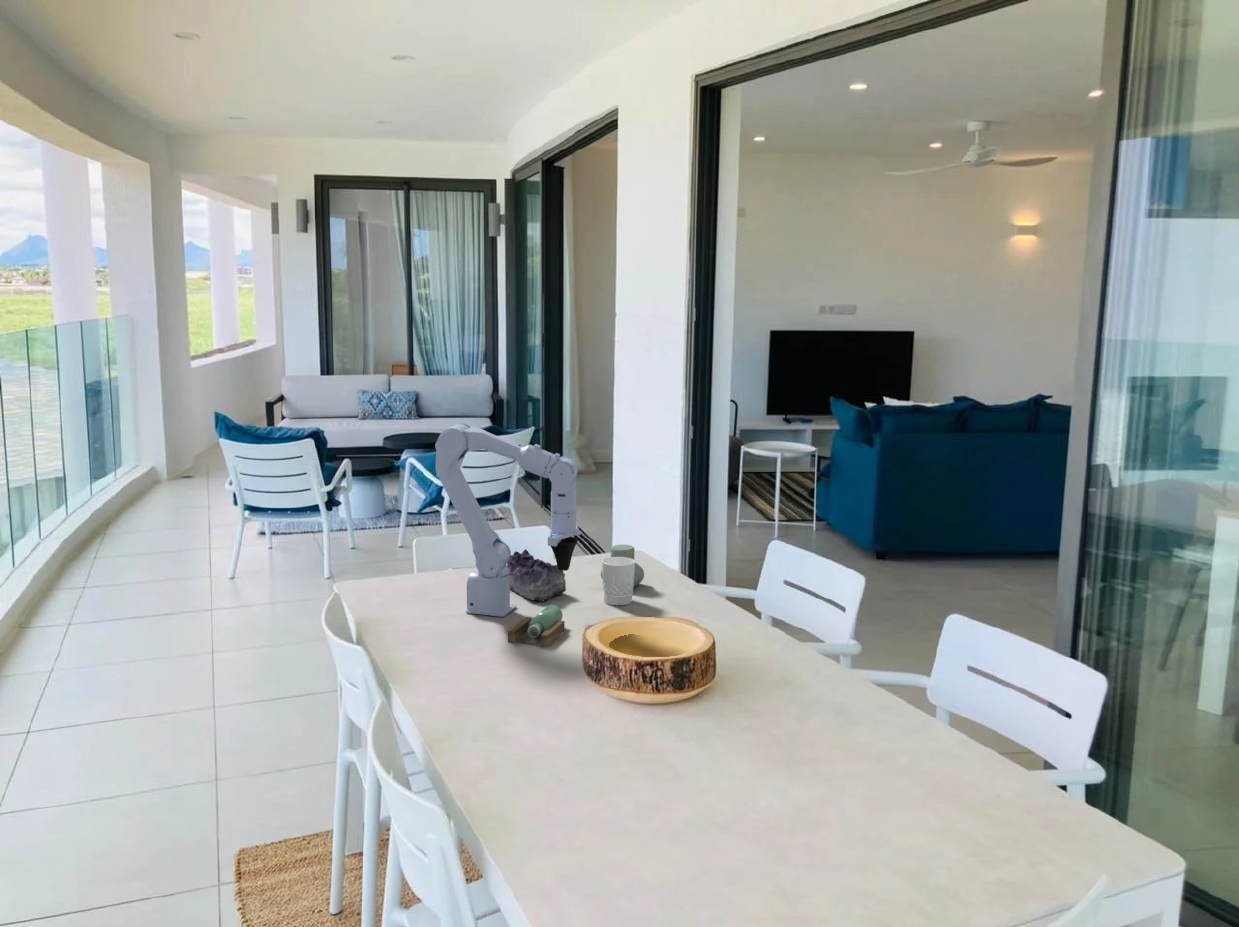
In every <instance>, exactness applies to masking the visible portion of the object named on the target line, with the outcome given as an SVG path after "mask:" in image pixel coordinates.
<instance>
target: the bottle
mask: <svg viewBox="0 0 1239 927" xmlns="http://www.w3.org/2000/svg"><path fill="white" fill-rule="evenodd" d="M562 619H563V611H562V610H561V608H560V607H559V606H557V605H555V604H549V605H547V606H546V607H544V608H543V609H542V610H541V611H540V612H539V613H537V614H536V615H535V616H534V617H532V620H531V621H530V623H529V628H528V634H529V635H530V636H531V637H533V638H536V637H541V634H543V633H544V632H545V631H546V630H547V629H548V628H550V627H551V626H552V625H553V624H554V623H555V622H557V621H558V620H560V621H562Z"/></svg>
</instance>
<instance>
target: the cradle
mask: <svg viewBox="0 0 1239 927" xmlns="http://www.w3.org/2000/svg"><path fill="white" fill-rule="evenodd" d="M532 619H533V617H532V616H525V617H523V618H522V619H521V620H519V622H517V623H516V624H515V625H513V626H512V627H511V628H509V629H508V630H507V643H509V644H516V643H518V644H523V645H524V644H525V645H534V646H540V647H542V648H548V647H550V646H551V645H552V644H553V643H554V642H555V641H556V640H558V639H559V638H560V637H561V636H562V635H563V634H564V633H565V620H561V621H560V620H558V621H557V622H555V623H554V624H553V625H552V626H551V627H550V628H548V629H547V630H546V631H545V632H544V633H543V634H541V637H536V638H533V637H531V636H530V635H529V634H528V628H529V623H530V621H531V620H532Z"/></svg>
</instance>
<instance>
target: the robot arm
mask: <svg viewBox="0 0 1239 927" xmlns="http://www.w3.org/2000/svg"><path fill="white" fill-rule="evenodd" d="M434 446H435V450H436V452H435V454H436V455H435V473H436V475H437V477H438V479H439V480H440V483H441V485H442V486H443V489H444V490H445V492H446V494H447V496H448V498H449V500H450V502H451V503H452V506H453V507H454V509H455V512H456V514H457V515H458V516H459V519H460V521H461V523H462V525H463V526H464V529H465V530H466V532H467V534H468V536H469V538H470V539H471V549H472V553H473V555H474V558H475V566H476V569H477V571H471V572H470V574H469V575H468V577H467V580H466V609H465V613H467V614H474V615H475V614H476V615H483V616H492V617H493V616H494V617H499V618H500V617H503V618H504V617H505V616H506V615H507V614H509V613H510V612H512V611H513V610H514V609H516V607H517V604H511V598H510V597H511V596H510V594H511V592H510V591H511V589H510V574H509V569H508V567H507V563H508V562H509V560H510V557H511V555H512V551H511V548H510V547H509V545H508V544H507V543H506V542H504V541H503V540H502V539H501V538H500V536H499V534H498V533H497V532H496V531H495V530H494V529H492V527H491V526H490V524H489V521H488V519H487V518H486V515H485V514H484V512H483V511H482V507H480V504H479V503H478V500H477V498H476V497H475V496H476V495H475V494H474V493H473V491H472V489H471V487H470V484H469V483H468V482H467V479H466V477H465V476H464V474H463V471H462V470H461V467H462V464H463V461H464V459H465V456H466V454H467V453H468V452H469V453H470V452H475V451H481V450H485V451H488V452H491V453H494V454H497V455H499V456H502V457H505V458H508V459H510V460H514V461H516V462H517V465H518V466H519V468H520V469H521V470H524V471H527V472H529V473H532V474H534V475H537V476H539V477H542V478H544V479H549V481H550V482H551V491H550V530H549V536H548V537H547V546H548V547H550V548H551V549H552V552H553V554H554V558H555V562H556V565H557V566H558V570H563V572H567V571H568V570H569V569H570V566H571V562H572V558H573V557H572V556H573V553H574V550H575V548H576V545H577V544H578V542H579V538H578V537H575V536H581V534H582V530H579V525H580V524H579V523H577V490H576V488H577V483H576V482H577V481H576V477H577V475H578V471H579V468H578V465H577V462H576V461H575V460H574V459H573V458H571V457H569V456H565V455H562V456H561V453H558V452H556V453H552V452H549V451H547V450H545V449H542V448H541V445H539V444H537V443H535V444H534V445H532V444H528V445H525V446H524V447H522V446H519V445H517V444H516V443H513V442H511V441H509V440H507V439H504V438H502V437H499V436H497V435H496V434H493V433H491V432H489V431H486V430H484V429H482V428H480V427H477V426H473V425H472V426H470V424H468V423H463V422H458V423H456V424H454V425H452V426H451V427H447V428H445V429H444V430H443V431H442V432H441V433H440V434H439V436H438V438H437V440H436V442H435V445H434Z"/></svg>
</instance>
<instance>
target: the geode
mask: <svg viewBox="0 0 1239 927" xmlns="http://www.w3.org/2000/svg"><path fill="white" fill-rule="evenodd" d="M534 556H535V555H532V554H531V553H530V552H529V551H528V550H527V548H526V549H524V550H523V551H522V552H521V553H520V552H518V551H514V552H513V554H511V557H510V560H509V562H508V563H507V564H506V565H507V567H508V569H509V574H510V591H514V592H515V593H516V594H518V595H519V596H521V597H524V598H526V599H528V600H532V601H538V602H544V601H545V600H549V599H550V598H552V597H554V596H556V595H559V594H562V593H564V592H566V590H567V587H566V584H567V583H566V577H565V576H566V574H565V572H564V571H563V570H558V566H557V564H554V565H553V564H551V562H545V561H544V560H542V559H539V558H537V559H535V558H534Z"/></svg>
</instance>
